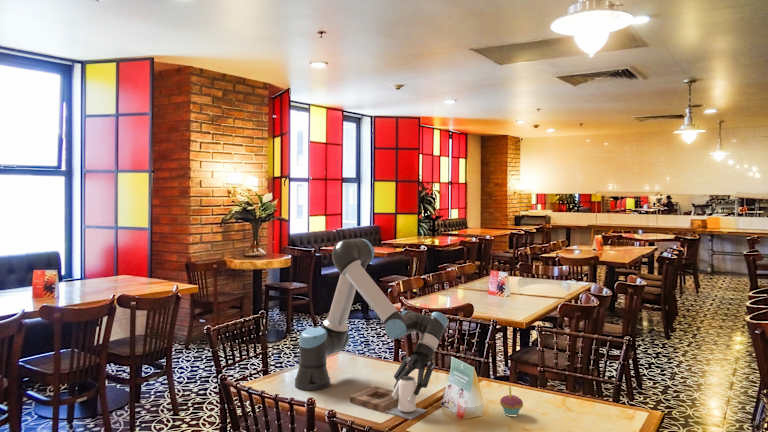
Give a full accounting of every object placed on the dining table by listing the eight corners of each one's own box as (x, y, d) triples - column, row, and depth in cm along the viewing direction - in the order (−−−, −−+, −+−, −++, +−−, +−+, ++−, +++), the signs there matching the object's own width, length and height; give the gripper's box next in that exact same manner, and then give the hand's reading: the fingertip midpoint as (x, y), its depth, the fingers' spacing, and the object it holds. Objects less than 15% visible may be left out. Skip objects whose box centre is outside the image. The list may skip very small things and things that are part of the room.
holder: (349, 402, 226) (350, 396, 226) (374, 391, 239) (374, 385, 239) (382, 412, 216) (382, 405, 216) (406, 400, 229) (406, 394, 229)
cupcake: (518, 420, 211) (518, 388, 210) (496, 415, 215) (496, 384, 215) (525, 413, 218) (526, 382, 217) (504, 408, 222) (505, 378, 222)
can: (414, 413, 213) (414, 381, 213) (396, 411, 214) (397, 380, 214) (416, 407, 219) (417, 376, 219) (400, 405, 221) (400, 375, 220)
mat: (386, 412, 216) (386, 411, 216) (403, 404, 225) (403, 403, 225) (410, 419, 209) (410, 418, 209) (426, 411, 218) (426, 410, 218)
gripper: (450, 357, 223) (427, 410, 210) (409, 348, 235) (384, 398, 222) (444, 346, 218) (419, 400, 206) (401, 338, 230) (376, 388, 218)
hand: (401, 399), depth 214 cm, fingers open, 7 cm apart
